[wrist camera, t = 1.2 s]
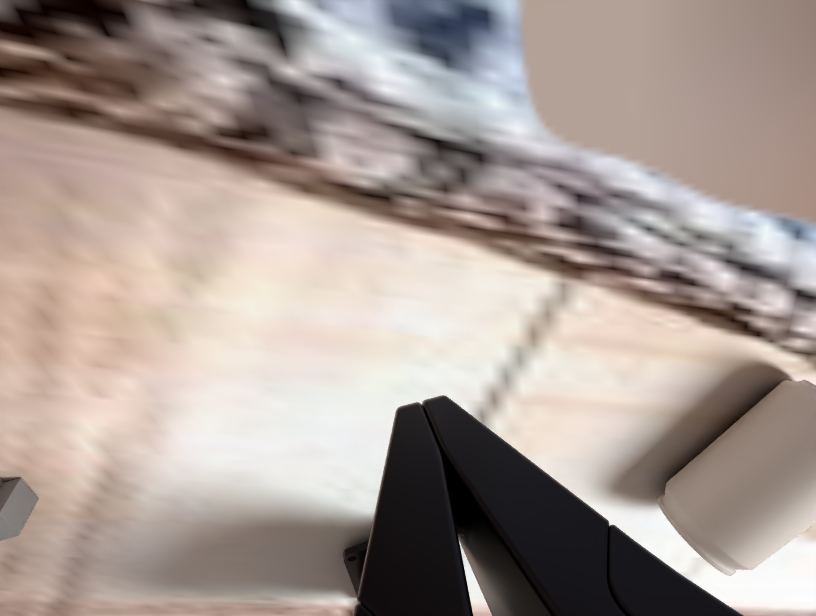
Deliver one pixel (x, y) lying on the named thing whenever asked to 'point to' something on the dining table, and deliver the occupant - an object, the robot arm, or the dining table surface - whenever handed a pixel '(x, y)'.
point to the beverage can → (750, 483)
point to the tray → (15, 507)
